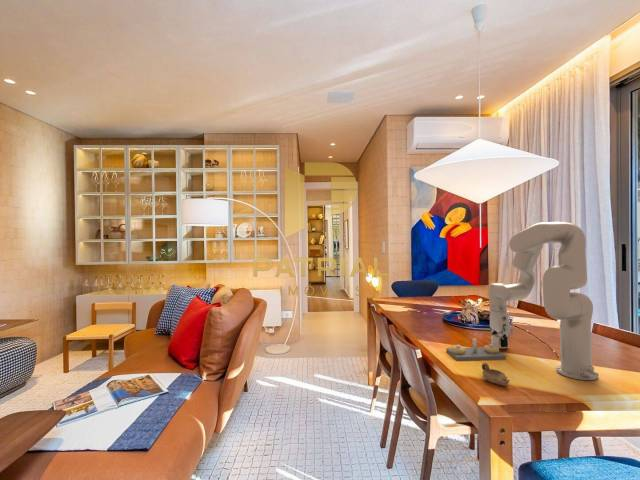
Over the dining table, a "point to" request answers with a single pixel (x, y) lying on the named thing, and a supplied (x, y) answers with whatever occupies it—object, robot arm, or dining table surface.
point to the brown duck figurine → (494, 375)
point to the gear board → (476, 352)
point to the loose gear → (496, 341)
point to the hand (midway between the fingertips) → (499, 344)
